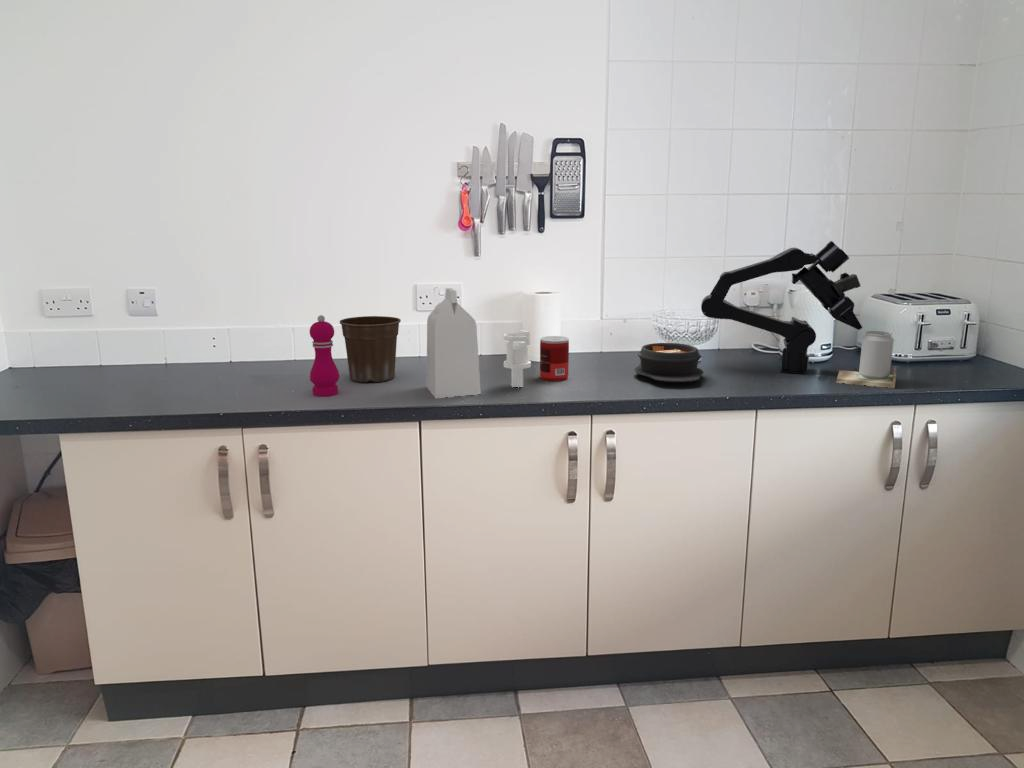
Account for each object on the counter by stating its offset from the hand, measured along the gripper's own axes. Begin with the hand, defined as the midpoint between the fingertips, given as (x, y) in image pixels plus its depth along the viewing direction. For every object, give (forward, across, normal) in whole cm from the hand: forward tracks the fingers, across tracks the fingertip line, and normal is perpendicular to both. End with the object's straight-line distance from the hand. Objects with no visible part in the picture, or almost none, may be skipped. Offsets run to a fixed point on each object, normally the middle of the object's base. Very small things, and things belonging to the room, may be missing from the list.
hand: (857, 325), depth 217 cm
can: (+11, -8, +6) cm, 15 cm away
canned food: (-47, -23, +66) cm, 84 cm away
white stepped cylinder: (-52, -35, +72) cm, 95 cm away
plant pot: (-81, -35, +100) cm, 134 cm away
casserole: (-25, -15, +45) cm, 54 cm away
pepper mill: (-84, -53, +104) cm, 144 cm away
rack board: (+11, -8, +8) cm, 16 cm away
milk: (-63, -43, +82) cm, 112 cm away
